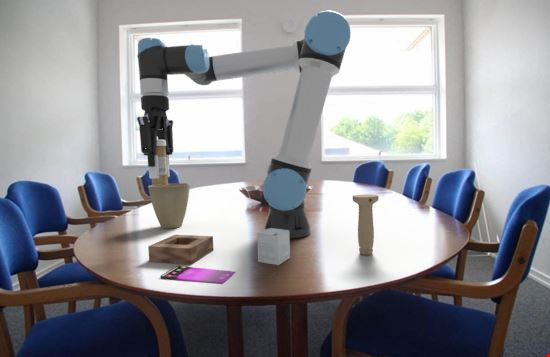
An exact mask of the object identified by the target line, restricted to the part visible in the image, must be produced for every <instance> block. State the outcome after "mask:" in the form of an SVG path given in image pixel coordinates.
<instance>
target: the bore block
mask: <svg viewBox="0 0 550 357" xmlns="http://www.w3.org/2000/svg"><path fill="white" fill-rule="evenodd" d="M213 251H214V236H213V235H196V234H195V235H194V234H193V235H191V234H173V235H171V236H168V237H166V238H164V239H162V240H159V241H158V242H155V243H152V244H149V245H148V262H149V263H165V264H175V263H176V264H175V265H177V264H178V265H189V266H190V265H193V264H195V263H196V262H198V261H200V260H201V259H203V258H204V257H206V256H207V255H208V254H209V255H210V253H212V252H213Z"/></svg>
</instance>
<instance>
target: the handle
mask: <svg viewBox="0 0 550 357" xmlns="http://www.w3.org/2000/svg"><path fill="white" fill-rule="evenodd" d="M352 201H353V203H355V204H357V205H358V221H357V239H358V240H357V242H358V247H359V248H358V251H359V254H361V255H363V256H365V255H366V256H370V255H372V254H373V252H374V248H373V247H374V239H375V232H374V231H375V228H374V226H375V225H374V216H373V215H374V214H373V207H374V206H373V205H374V204H375V203H377V202H378V201H379V195H377V194H371V193H369V194H355V195H352Z"/></svg>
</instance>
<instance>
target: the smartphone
mask: <svg viewBox="0 0 550 357" xmlns="http://www.w3.org/2000/svg"><path fill="white" fill-rule="evenodd" d="M235 274H236V271H234V270H232V271H231V270H223V269H214V268H213V269H212V268H204V267H203V268H202V267H194V266H182V265H176V266H174V267H173V268H171V269H169V270H168V271H166V272H164V273H163V274H160V279H164V280H173V281H181V282H182V281H184V282H193V283H194V282H195V283H206V284H216V285H223V284H224V283H226V282H227V281H228V280H229V279H230V278H231V277H233V275H235Z"/></svg>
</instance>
